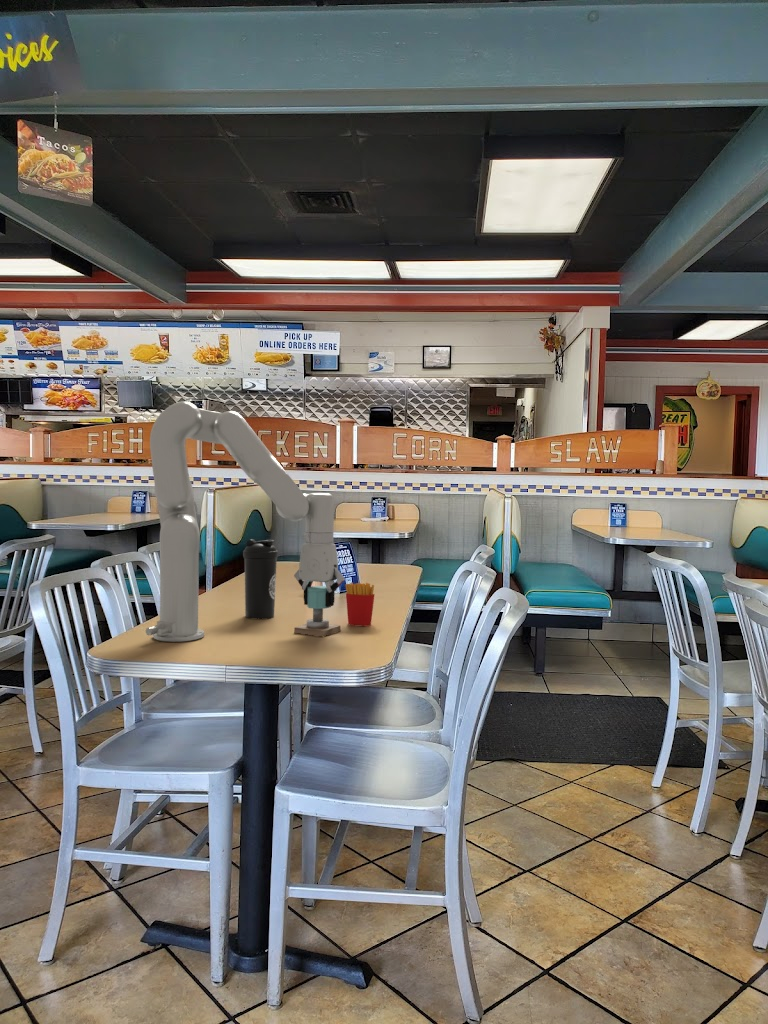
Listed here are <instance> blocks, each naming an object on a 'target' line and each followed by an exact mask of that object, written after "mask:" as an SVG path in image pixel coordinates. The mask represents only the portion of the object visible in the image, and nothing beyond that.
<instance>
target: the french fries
mask: <svg viewBox="0 0 768 1024" xmlns="http://www.w3.org/2000/svg"><path fill="white" fill-rule="evenodd" d="M374 589H375V585H374V584H370V583H368V582H365V583H362V582H361V583H360V582H357V583H353V582H350V583H345V590H346V593H345V599H346V611H347V622H348V623H347V624H348V625H349V624H350V625H349V626H355V625H362V626H361V627H369V625H370V626H372V617H373V609H374V602H375V601H374V600H375V593H374Z"/></svg>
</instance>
